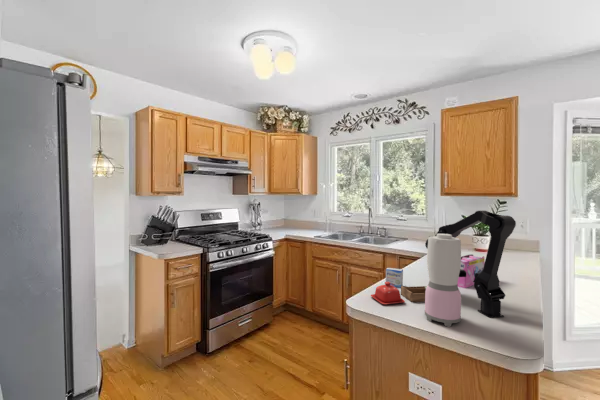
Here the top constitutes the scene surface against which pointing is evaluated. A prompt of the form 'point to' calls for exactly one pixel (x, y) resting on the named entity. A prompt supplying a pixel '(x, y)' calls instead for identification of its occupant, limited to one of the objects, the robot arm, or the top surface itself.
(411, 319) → the top surface
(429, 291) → the blender
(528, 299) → the top surface
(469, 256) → the gum box
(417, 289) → the walnut box
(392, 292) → the butter dish
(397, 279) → the medicine box
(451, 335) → the top surface
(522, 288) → the top surface
